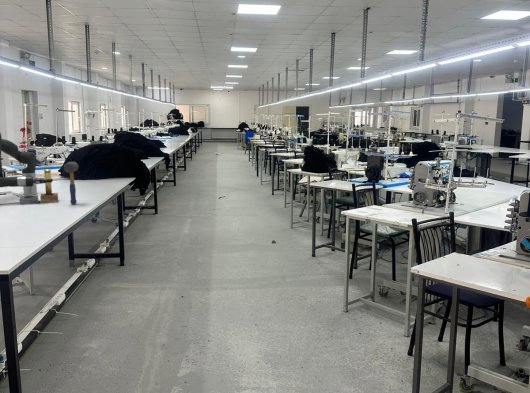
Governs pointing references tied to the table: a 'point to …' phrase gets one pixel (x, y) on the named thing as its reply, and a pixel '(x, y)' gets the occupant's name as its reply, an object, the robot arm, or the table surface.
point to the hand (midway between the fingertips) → (52, 180)
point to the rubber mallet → (71, 179)
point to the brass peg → (48, 185)
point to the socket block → (29, 199)
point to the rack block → (49, 198)
